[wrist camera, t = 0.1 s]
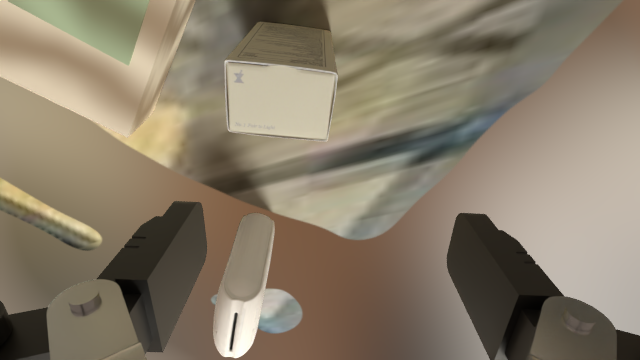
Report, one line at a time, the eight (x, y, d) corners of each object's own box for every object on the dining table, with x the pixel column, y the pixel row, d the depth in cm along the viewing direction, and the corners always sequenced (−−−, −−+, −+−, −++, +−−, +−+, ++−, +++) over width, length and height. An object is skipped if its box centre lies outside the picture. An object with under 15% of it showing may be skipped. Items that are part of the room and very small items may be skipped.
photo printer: (266, 275, 46) (249, 372, 35) (233, 270, 45) (205, 367, 35) (279, 215, 40) (262, 309, 30) (241, 207, 40) (210, 301, 29)
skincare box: (256, 72, 31) (222, 134, 21) (257, 17, 29) (219, 57, 19) (327, 81, 31) (328, 146, 21) (334, 27, 29) (338, 72, 19)
